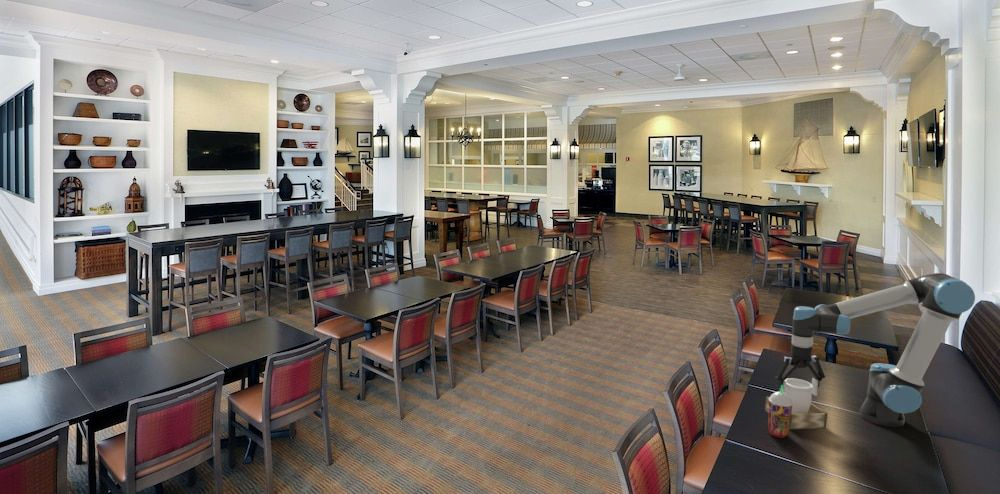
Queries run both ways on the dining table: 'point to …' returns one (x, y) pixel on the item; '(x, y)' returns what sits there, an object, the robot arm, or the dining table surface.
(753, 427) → the dining table surface
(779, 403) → the smoothie
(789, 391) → the jar
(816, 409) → the crate
